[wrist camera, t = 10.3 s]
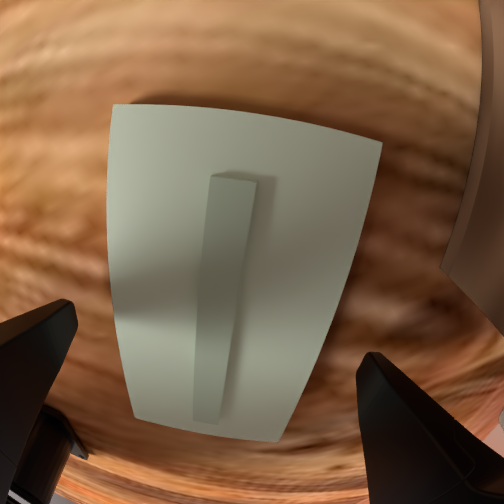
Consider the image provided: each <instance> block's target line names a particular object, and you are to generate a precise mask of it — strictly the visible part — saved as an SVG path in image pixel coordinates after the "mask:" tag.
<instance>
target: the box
mask: <svg viewBox="0 0 504 504" xmlns="http://www.w3.org/2000/svg"><path fill="white" fill-rule="evenodd" d="M479 8H480V18H481V32H482V82H481V97H480V108H479V117H478V125H477V132H476V138H475V144H474V150H473V155H472V161H471V165H470V170H469V175H468V179H467V183H466V187H465V191H464V195H463V199H462V202H461V206H460V209H459V213H458V216H457V220H456V223H455V226H454V229H453V232H452V235H451V238H450V241H449V244H448V247H447V249H446V252H445V255H444V258H443V260H442V263H441V265H440V269H441V270H442V271H443V272H444V273H445V274H446V275H447V276H448V277H449V278H450V279H451V280H452V281H453V282H454V283H455V284H456V285H457V286H458V287H459V288H460V289H461V290H462V291H463V292H464V293H465V294H466V295H467V296H468V297H469V298H470V299H471V300H472V301H473V302H474V303H475V305H476V306H477V307H478V308H479V309H480V310H481V311H482V312H483V313H484V314H485V315H486V317H487V318H488V319H489V320H490V321H491V322H492V323H493V325H494V326H495V327H496V328H497V329H498V330H499V332H500V333H501V334H502V335H503V336H504V0H479Z"/></svg>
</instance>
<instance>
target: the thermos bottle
mask: <svg viewBox="0 0 504 504" xmlns="http://www.w3.org/2000/svg"><path fill="white" fill-rule="evenodd" d="M499 423H500V425H501V427H502V429H503V431H504V409H503V410H502V412H501V414H500V416H499Z"/></svg>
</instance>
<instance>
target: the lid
mask: <svg viewBox="0 0 504 504" xmlns="http://www.w3.org/2000/svg"><path fill="white" fill-rule="evenodd" d="M382 144H383V143H382V142H379V141H376V140H372V139H369V138H366V137H362V136H359V135H355V134H351V133H348V132H344V131H340V130H336V129H332V128H328V127H324V126H319V125H315V124H310V123H306V122H301V121H296V120H291V119H285V118H280V117H274V116H268V115H262V114H256V113H249V112H241V111H234V110H225V109H216V108H205V107H193V106H178V105H152V104H116V105H113V111H112V119H111V128H110V139H109V152H108V169H107V243H108V261H109V274H110V285H111V295H112V304H113V312H114V319H115V326H116V333H117V339H118V345H119V350H120V356H121V361H122V366H123V371H124V376H125V380H126V385H127V389H128V393H129V397H130V401H131V405H132V409H133V413H134V417H135V418H137V419H140V420H144V421H148V422H151V423H155V424H159V425H163V426H168V427H172V428H176V429H181V430H186V431H191V432H196V433H202V434H207V435H214V436H220V437H227V438H235V439H243V440H253V441H264V442H279V440H280V438H281V436H282V434H283V432H284V430H285V428H286V426H287V424H288V422H289V420H290V418H291V416H292V414H293V412H294V410H295V407H296V405H297V403H298V401H299V399H300V397H301V395H302V392H303V390H304V388H305V386H306V383H307V381H308V379H309V377H310V374H311V372H312V370H313V367H314V365H315V363H316V360H317V358H318V355H319V353H320V350H321V348H322V345H323V343H324V340H325V338H326V335H327V333H328V330H329V328H330V325H331V322H332V320H333V317H334V314H335V311H336V309H337V306H338V303H339V300H340V297H341V295H342V292H343V289H344V286H345V283H346V280H347V277H348V274H349V271H350V268H351V264H352V261H353V258H354V255H355V252H356V248H357V245H358V242H359V238H360V235H361V231H362V228H363V224H364V220H365V217H366V213H367V209H368V205H369V201H370V198H371V193H372V189H373V185H374V181H375V177H376V172H377V168H378V163H379V159H380V154H381V149H382Z"/></svg>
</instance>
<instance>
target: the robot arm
mask: <svg viewBox="0 0 504 504" xmlns="http://www.w3.org/2000/svg"><path fill="white" fill-rule="evenodd" d="M77 328H78V320H77V316H76V311H75V306H74V304H73V302H72V301H69V300H66V299H59V300H57V301H54V302H52V303H49V304H47V305H44V306H42V307H39V308H36V309H34V310H31V311H29V312H26V313H24V314H22V315H19V316H17V317H14V318H12V319H9V320H7V321H4V322H2V323H0V504H21V503H19V502H18V501H16V500H15V499H13V498H12V497H11V496H9V495H8V492H9V489H10V490H11V491H12V492H14V493H15V494H17V495H18V496H20V497H21V498H23V499H24V500H26V501H27V502H29V503H30V504H49V503H50V501H51V498H52V496H53V493H54V491H55V488H56V486H57V483H58V481H59V479H60V476H61V474H62V471H63V469H64V467H65V465H66V462H67V460H68V458H69V455H70V453H71V454H73V455H75V456H78V457H80V458H82V459H85V460H87V459H88V457H89V455H88V453H87V452H86V451H85V449H84V448H83V446H82V445H81V443H80V442H79V440H78V438H77V437H76V435H75V434H74V432H73V430H72V429H71V427H70V426H69V424H68V422H67V420H66V419H65V418H64V416H62V415H61V414H60V413H58V412H56V411H54V410H52V409H50V408H48V407H46V406H44V405H43V403H44V400H45V398H46V396H47V394H48V392H49V390H50V388H51V386H52V384H53V382H54V380H55V378H56V376H57V374H58V372H59V370H60V368H61V366H62V364H63V362H64V359H65V357H66V354H67V352H68V350H69V347H70V345H71V343H72V340H73V338H74V336H75V333H76V331H77ZM356 387H357V402H358V418H359V425H360V432H361V438H362V445H363V451H364V458H365V466H366V474H367V482H368V491H369V501H370V504H504V458H503V457H502V456H501V455H499V454H498V453H496V452H495V451H494V450H492V449H491V448H490V447H488V446H487V445H486V444H484V443H483V442H482V441H481V440H479V439H478V438H477V437H475V436H474V435H473V434H472V433H471V432H469V431H468V430H467V429H466V428H465V427H464V426H462V425H461V424H460V423H459V422H458V421H457V420H454V417H452V416H451V415H450V414H449V413H448V412H447V411H446V410H445V409H443V408H442V407H441V406H440V405H439V404H438V403H437V402H436V401H435V400H433V399H432V398H431V397H430V396H429V395H428V394H427V393H426V392H424V391H423V390H422V389H421V388H420V387H419V386H418V385H417V384H415V383H414V382H413V381H412V380H411V379H410V378H409V377H407V376H406V375H405V374H404V373H403V372H402V371H401V370H400V369H398V368H397V367H396V366H395V365H394V364H393V363H392V362H390V361H389V360H388V359H387V358H386V357H385V356H384V355H383V354H381V353H380V352H368V353H366V355H365V356H364V358H363V360H362V362H361V364H360V366H359V368H358V370H357V372H356Z"/></svg>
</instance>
